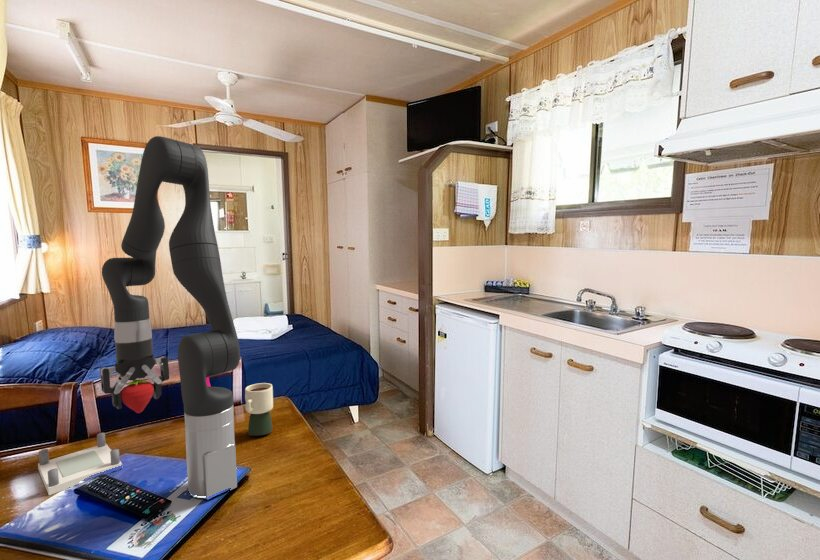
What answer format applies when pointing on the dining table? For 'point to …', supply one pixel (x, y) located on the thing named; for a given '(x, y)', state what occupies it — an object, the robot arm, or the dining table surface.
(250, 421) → the character mug
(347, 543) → the dining table surface
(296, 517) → the dining table surface
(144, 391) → the strawberry
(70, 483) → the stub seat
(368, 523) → the dining table surface
